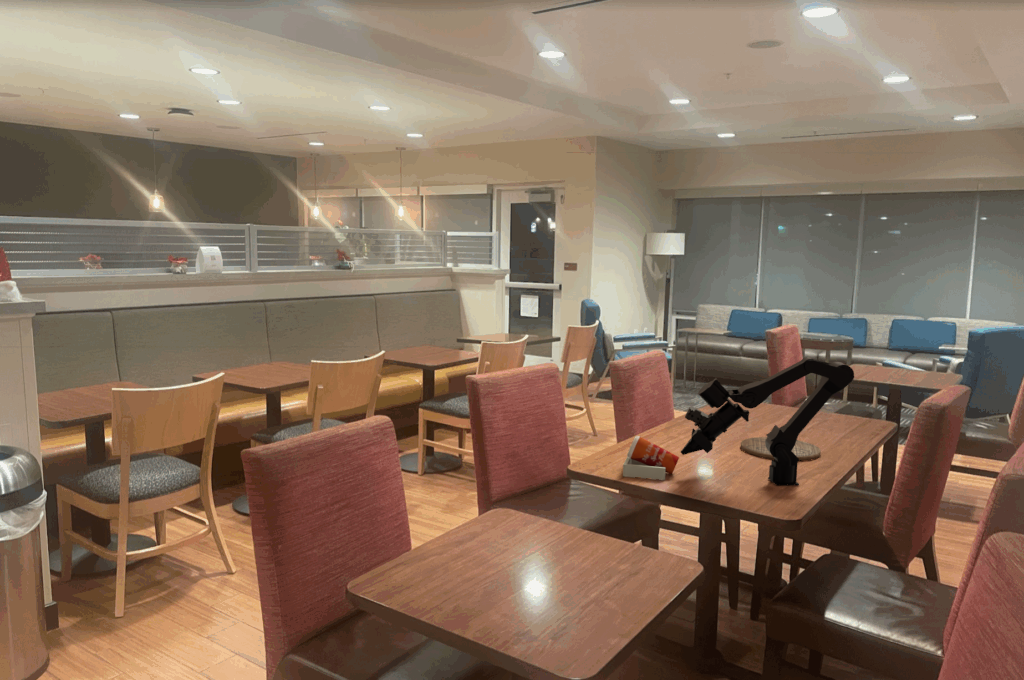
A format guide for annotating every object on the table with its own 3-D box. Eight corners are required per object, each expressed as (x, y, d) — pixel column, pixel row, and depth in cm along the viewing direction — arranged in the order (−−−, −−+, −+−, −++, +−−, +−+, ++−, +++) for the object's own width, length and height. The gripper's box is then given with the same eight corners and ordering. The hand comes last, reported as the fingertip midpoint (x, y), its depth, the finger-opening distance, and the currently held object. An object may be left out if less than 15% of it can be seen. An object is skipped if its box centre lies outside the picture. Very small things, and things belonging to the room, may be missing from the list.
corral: (668, 467, 214) (668, 456, 214) (664, 480, 202) (665, 468, 201) (628, 464, 218) (629, 453, 217) (622, 476, 205) (623, 464, 205)
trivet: (741, 439, 251) (741, 434, 251) (817, 446, 243) (817, 440, 243) (739, 457, 228) (739, 451, 227) (823, 465, 219) (823, 459, 219)
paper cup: (672, 474, 202) (627, 453, 206) (669, 480, 209) (625, 460, 213) (682, 450, 205) (637, 430, 209) (678, 457, 212) (635, 438, 215)
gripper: (703, 392, 211) (665, 425, 216) (701, 404, 194) (659, 440, 198) (730, 420, 210) (690, 453, 214) (730, 434, 192) (687, 470, 197)
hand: (681, 453), depth 206 cm, fingers closed
